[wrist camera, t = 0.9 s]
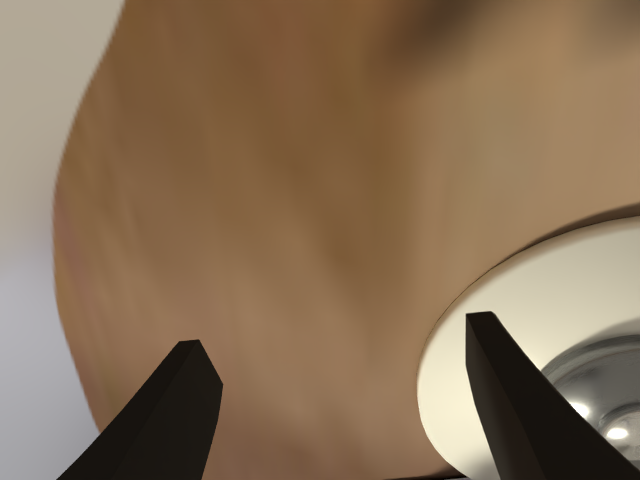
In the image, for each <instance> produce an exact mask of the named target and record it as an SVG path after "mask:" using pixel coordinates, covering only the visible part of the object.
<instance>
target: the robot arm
mask: <svg viewBox="0 0 640 480" xmlns="http://www.w3.org/2000/svg"><path fill="white" fill-rule="evenodd" d="M465 366H466V370H467V374H468V379H469V383H470V387H471V392H472V396H473V400H474V404H475V407H476V410H477V413H478V416H479V419H480V422H481V425H482V428H483V431H484V433H485V436H486V439H487V442H488V445H489V448H490V451H491V454H492V456H493V459H494V462H495V465H496V468H497V471H498V474H499V477H500V479H501V480H640V470H639V469H638V468H637V467H635V466H634V465H633V464H632V463H631V462H630V461H629V460H628V459H626V458H625V457H624V456H623V455H622V454H621V453H620V452H619V451H618V450H617V449H616V448H614V447H613V446H612V445H611V444H610V443H609V442H608V441H607V440H606V439H605V438H604V437H603V436H602V435H601V434H600V433H599V432H598V431H597V430H596V429H595V428H593V427H592V426H591V425H590V424H589V423H588V422H587V421H586V420H585V419H584V418H583V417H582V415H581V414H580V413H579V412H578V411H577V410H576V409H575V408H574V407H573V406H572V405H571V404H570V403H569V402H568V401H567V400H566V399H565V398H564V397H563V396H562V395H561V394H560V393H559V391H558V390H557V389H556V388H555V387H554V386H553V385H552V384H551V383H550V381H549V380H548V379H547V378H546V377H545V376H544V375H543V374H542V372H541V371H540V370H539V369H538V368H537V367H536V366H535V365H534V363H533V362H532V361H531V360H530V359H529V357H528V356H527V355H526V354H525V353H524V351H523V350H522V349H521V348H520V346H519V345H518V344H517V343H516V341H515V340H514V339H513V338H512V336H511V335H510V334H509V332H508V331H507V330H506V328H505V327H504V326H503V324H502V323H501V322H500V320H499V319H498V317H497V316H496V314H495V313H493V312H492V311H484V312H474V313H466V332H465ZM222 389H223V383H222V381H221V379H220V377H219V376H218V374H217V372H216V370H215V368H214V366H213V364H212V363H211V361H210V359H209V357H208V355H207V353H206V351H205V349H204V348H203V346H202V344H201V342H200V340H189V341H179V342H178V343H177V344H176V346H175V347H174V348H173V349H172V350H171V351H170V353H169V354H168V355H167V356H166V358H165V359H164V360H163V361H162V362H161V364H160V365H159V366H158V367H157V369H156V370H155V371H154V372H153V373H152V375H151V376H150V377H149V378H148V380H147V381H146V382H145V383H144V384H143V386H142V387H141V388H140V389H139V390H138V392H137V393H136V394H135V395H134V396H133V398H132V399H131V400H130V401H129V402H128V404H127V405H126V406H125V407H124V408H123V409H122V411H121V412H120V413H119V414H118V415H117V416H116V417H115V418H114V420H113V421H112V422H111V423H110V424H109V425H108V426H107V427H106V428H105V430H104V431H103V432H102V433H101V434H100V435H99V436H98V437H97V438H96V440H95V441H94V442H93V443H92V444H91V445H90V446H89V447H88V449H86V450H85V451H84V452H83V454H82V455H81V456H80V457H79V458H78V459H77V460H76V461H75V462H74V463H73V464H72V465H71V466H70V467H69V468H68V469H67V470H66V471H65V472H64V473H63V474H62V475H61V476H60V477H59V478H58V479H56V480H201V479H202V475H203V472H204V468H205V465H206V461H207V458H208V454H209V451H210V447H211V444H212V440H213V436H214V433H215V429H216V425H217V421H218V416H219V410H220V404H221V397H222ZM446 480H472V479H471V478H469V477H468V478H457V479H446Z"/></svg>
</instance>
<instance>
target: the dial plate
mask: <svg viewBox="0 0 640 480" xmlns="http://www.w3.org/2000/svg"><path fill="white" fill-rule="evenodd" d="M484 311H492V312H493V313H495V314H496V316H497V317H498V319H499V320H500V322H501V323H502V324H503V326H504V327H505V328H506V330H507V331H508V332H509V334H510V335H511V336H512V338H513V339H514V340H515V341H516V343H517V344H518V345H519V346H520V348H521V349H522V350H523V351H524V353H525V354H526V355H527V356H528V357H529V359H530V360H531V361H532V362H533V363H534V365H535V366H536V367H537V368H538V369H539V370H540V371H541V372H542V373H543V372H544V371H545V370H546V369H547V368H548V367H549V366H551V365H552V364H553V363H555V362H556V361H557V360H559V359H560V358H562V357H564V356H565V355H567V354H569V353H571V352H573V351H575V350H577V349H579V348H581V347H584V346H587V345H589V344H592V343H595V342H599V341H602V340H606V339H610V338H615V337H620V336H628V335H640V216H635V217H629V218H623V219H616V220H610V221H605V222H602V223H598V224H594V225H590V226H586V227H582V228H578V229H575V230H572V231H569V232H567V233H564V234H561V235H558V236H556V237H553V238H550V239H547V240H545V241H543V242H540V243H538V244H536V245H534V246H532V247H530V248H528V249H526V250H524V251H522V252H520V253H518V254H516V255H514V256H512V257H511V258H509V259H507V260H506V261H504V262H503V263H501V264H499V265H498V266H496V267H494V268H493V269H491V270H490V271H488V272H487V273H486V274H485V275H483V276H482V277H481V278H479V279H478V280H477V281H475V282H474V283H473V284H472V285H470V286H469V287H468V288H467V289H466V290H465V291H464V292H463V293H462V294H461V295H460V296H459V297H458V298H457V299H456V300H455V301H454V302H453V303H452V304H451V305H450V306H449V307H448V309H447V310H446V311H445V312H444V314H443V315H442V316H441V317H440V319H439V320H438V321H437V323H436V324H435V326H434V328H433V330H432V331H431V333H430V335H429V336H428V338H427V340H426V343H425V345H424V348H423V350H422V353H421V355H420V359H419V364H418V369H417V374H416V391H417V398H418V405H419V411H420V416H421V421H422V424H423V426H424V429H425V431H426V434H427V436H428V438H429V439H430V441H431V443H432V444H433V446H434V447H435V449H436V450H437V451H438V452H439V453H440V454H441V456H442V457H443V458H444V459H445V460H446V461H447V462H448V463H450V464H451V465H452V466H453V467H454V468H456V469H457V470H458V471H459V472H461V473H463V474H464V475H466V476H467V477H469V478H471V479H472V480H501V479H500V477H499V474H498V471H497V468H496V465H495V462H494V459H493V456H492V454H491V451H490V448H489V445H488V442H487V439H486V436H485V433H484V431H483V428H482V425H481V422H480V419H479V416H478V413H477V410H476V407H475V404H474V400H473V396H472V392H471V387H470V383H469V379H468V374H467V370H466V366H465V332H466V313H474V312H484Z"/></svg>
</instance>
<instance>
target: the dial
mask: <svg viewBox="0 0 640 480" xmlns="http://www.w3.org/2000/svg"><path fill="white" fill-rule="evenodd" d="M542 374H543V375H544V376H545V377H546V378H547V379H548V380H549V381H550V383H551V384H552V385H553V386H554V387H555V388H556V389H557V390H558V391H559V393H560V394H561V395H562V396H563V397H564V398H565V399H566V400H567V401H568V402H569V403H570V404H571V405H572V406H573V407H574V408H575V409H576V410H577V411H578V412H579V413H580V414H581V415H582V417H583V418H584V419H585V420H586V421H587V422H588V423H589V424H590V425H591V426H592V427H593V428H595V429H596V430H597V431H598V432H599V433H600V434H601V435H602V436H603V437H604V438H605V439H606V440H607V441H608V442H609V443H610V444H611V445H612V446H613V447H614V448H616V449H617V450H618V451H619V452H620V453H621V454H622V455H623V456H624V457H625V458H626V459H628V460H629V461H630V462H631V463H632V464H633V465H634V466H635V467H637V468H638V469H639V470H640V335H628V336H620V337H615V338H610V339H606V340H602V341H599V342H595V343H592V344H589V345H587V346H584V347H581V348H579V349H577V350H575V351H573V352H571V353H569V354H567V355H565V356H564V357H562V358H560V359H559V360H557V361H556V362H555V363H553V364H552V365H551V366H549V367H548V368H547V369H546V370H545V371H544V372H543V373H542Z"/></svg>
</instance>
